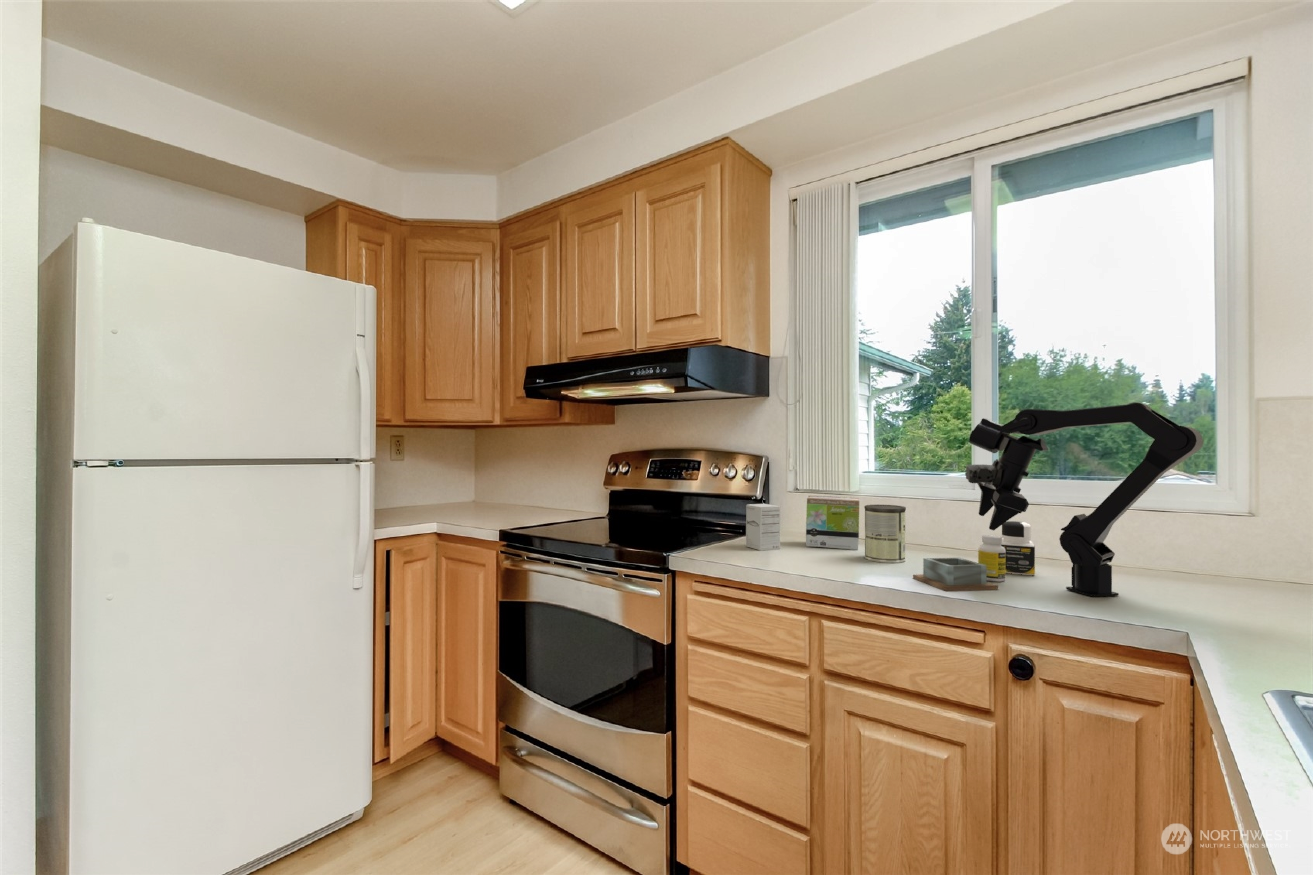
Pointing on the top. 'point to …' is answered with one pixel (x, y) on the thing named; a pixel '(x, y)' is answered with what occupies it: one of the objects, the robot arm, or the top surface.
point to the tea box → (832, 522)
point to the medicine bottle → (1018, 548)
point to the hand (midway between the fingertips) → (985, 522)
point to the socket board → (954, 574)
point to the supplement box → (763, 526)
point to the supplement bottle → (993, 557)
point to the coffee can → (885, 533)
